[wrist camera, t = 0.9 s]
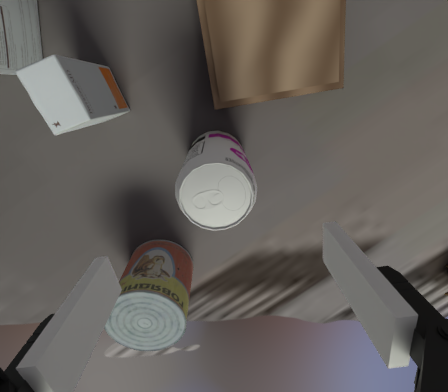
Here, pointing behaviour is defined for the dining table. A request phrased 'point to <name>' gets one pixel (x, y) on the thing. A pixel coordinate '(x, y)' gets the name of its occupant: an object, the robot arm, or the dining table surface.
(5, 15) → the supplement box
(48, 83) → the skincare box
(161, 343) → the canned food
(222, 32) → the tray
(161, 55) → the dining table surface
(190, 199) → the supplement can
